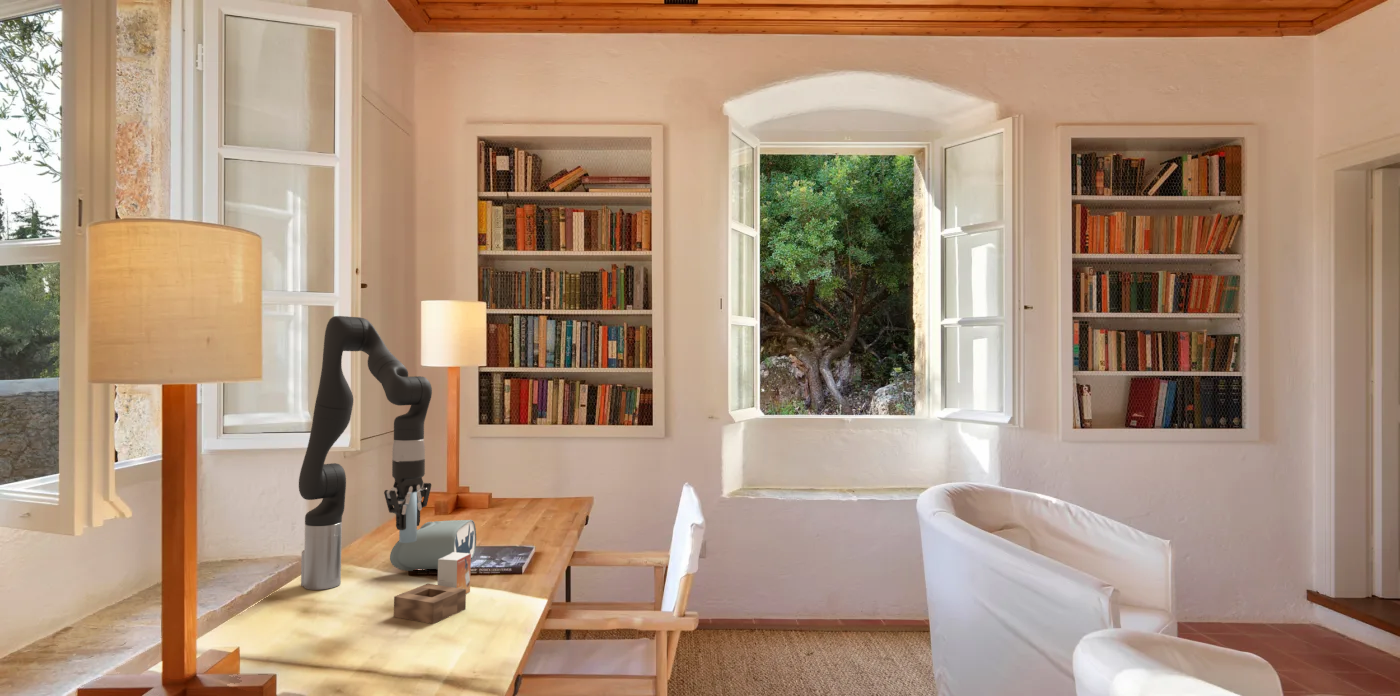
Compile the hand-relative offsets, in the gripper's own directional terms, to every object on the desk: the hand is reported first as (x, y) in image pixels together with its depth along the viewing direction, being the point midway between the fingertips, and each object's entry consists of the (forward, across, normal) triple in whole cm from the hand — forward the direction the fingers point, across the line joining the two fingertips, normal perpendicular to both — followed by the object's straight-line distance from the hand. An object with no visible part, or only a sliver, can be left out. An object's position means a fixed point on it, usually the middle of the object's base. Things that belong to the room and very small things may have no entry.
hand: (408, 527), depth 196 cm
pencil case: (+22, -39, -26) cm, 51 cm away
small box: (+22, -18, -1) cm, 29 cm away
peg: (+3, 0, 0) cm, 3 cm away
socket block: (+22, -5, +3) cm, 23 cm away
